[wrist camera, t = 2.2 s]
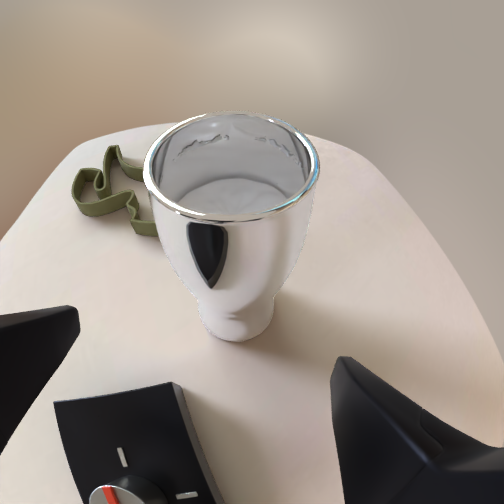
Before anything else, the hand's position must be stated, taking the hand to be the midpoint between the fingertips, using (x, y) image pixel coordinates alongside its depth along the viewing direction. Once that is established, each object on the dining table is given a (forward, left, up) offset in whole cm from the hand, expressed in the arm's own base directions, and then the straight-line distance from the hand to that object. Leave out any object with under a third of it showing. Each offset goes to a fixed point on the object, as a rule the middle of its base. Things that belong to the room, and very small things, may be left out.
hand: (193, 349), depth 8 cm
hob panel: (-5, +8, -13) cm, 16 cm away
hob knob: (-7, +8, -10) cm, 14 cm away
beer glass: (+6, -3, -13) cm, 14 cm away
